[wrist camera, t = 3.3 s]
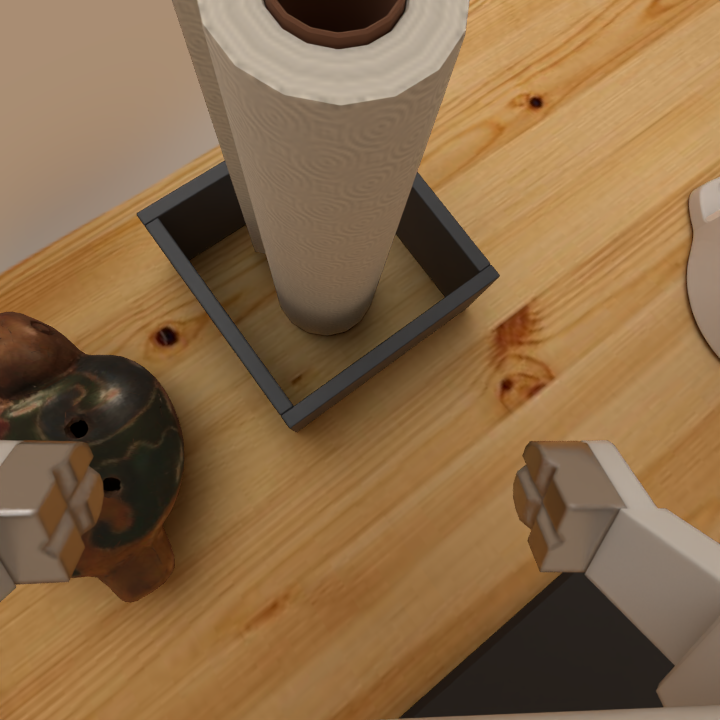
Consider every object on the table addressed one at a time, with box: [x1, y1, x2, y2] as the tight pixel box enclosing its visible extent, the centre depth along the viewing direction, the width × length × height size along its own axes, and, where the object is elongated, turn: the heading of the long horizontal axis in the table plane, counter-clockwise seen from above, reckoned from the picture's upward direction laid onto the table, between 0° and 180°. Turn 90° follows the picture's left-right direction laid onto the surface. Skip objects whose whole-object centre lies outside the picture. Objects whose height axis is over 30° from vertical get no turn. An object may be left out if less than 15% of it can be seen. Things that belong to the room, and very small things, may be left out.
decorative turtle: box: [0, 312, 184, 602], centre depth 25 cm, size 10×15×8 cm, turn 33°
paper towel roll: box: [172, 0, 470, 335], centre depth 21 cm, size 7×6×21 cm
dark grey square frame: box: [137, 161, 500, 432], centre depth 28 cm, size 14×14×6 cm
